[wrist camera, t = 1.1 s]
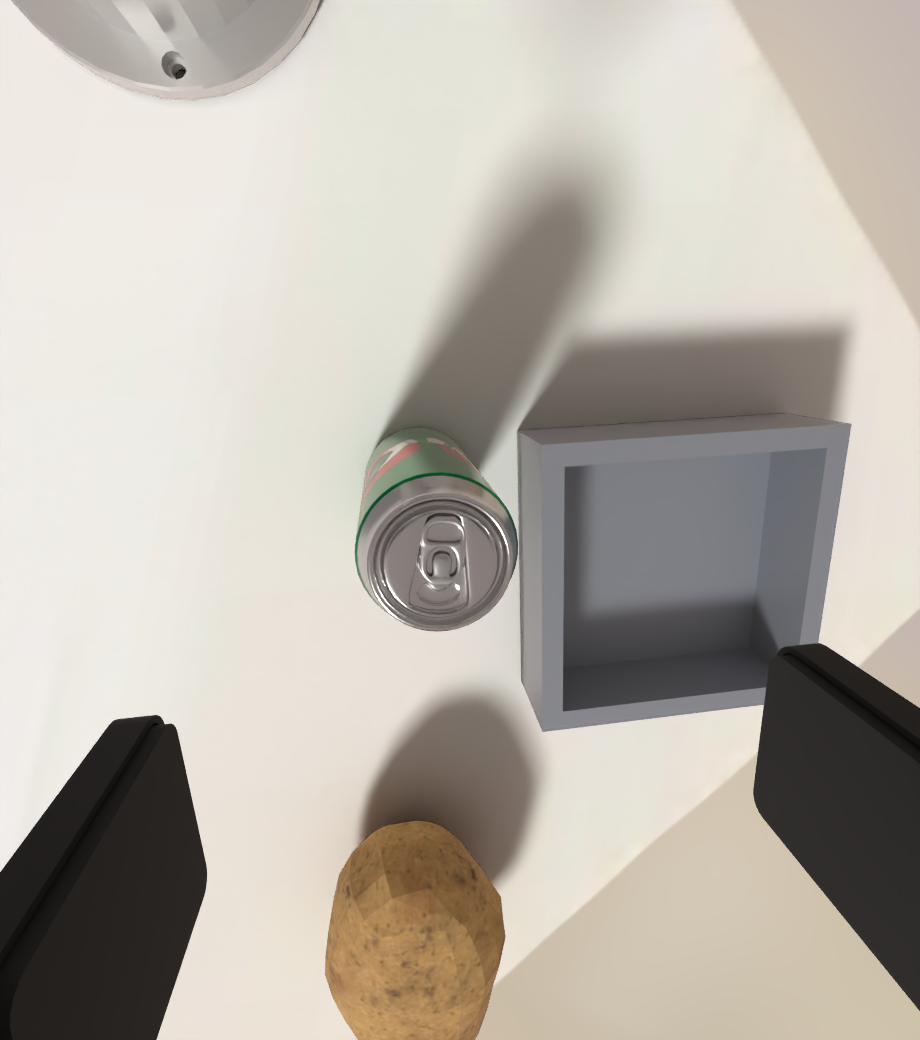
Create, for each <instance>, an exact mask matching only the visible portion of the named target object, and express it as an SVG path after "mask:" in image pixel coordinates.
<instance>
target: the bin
mask: <svg viewBox="0 0 920 1040" xmlns="http://www.w3.org/2000/svg"><path fill="white" fill-rule="evenodd" d="M850 429H851V424H849V423H843V422H836V421H830V420H824V419H817V418H811V417H805V416H798V415H792V414H786V413H778V414H762V415H747V416H731V417H716V418H701V419H685V420H670V421H654V422H639V423H623V424H608V425H592V426H577V427H561V428H546V429H530V430H517V449H518V509H519V568H520V628H521V681H522V684H523V686H524V688H525V691H526V693H527V696H528V698H529V700H530V703H531V705H532V708H533V710H534V712H535V715H536V717H537V720H538V722H539V724H540V727H541V729H542V732H545V731H553V730H562V729H570V728H578V727H586V726H594V725H602V724H610V723H618V722H626V721H634V720H643V719H651V718H659V717H667V716H675V715H683V714H691V713H699V712H707V711H715V710H724V709H732V708H740V707H748V706H756V705H764V701H765V693H766V685H767V677H768V669H769V664H770V661H771V660H772V658H774V657H777V653H778V652H779V650H780V649H781V648H783V647H785V646H794V645H804V644H813V643H818V640H819V633H820V627H821V620H822V614H823V607H824V601H825V594H826V587H827V581H828V574H829V568H830V561H831V554H832V548H833V541H834V535H835V528H836V521H837V515H838V508H839V502H840V495H841V489H842V482H843V475H844V469H845V462H846V456H847V449H848V442H849V436H850Z"/></svg>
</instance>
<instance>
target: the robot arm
mask: <svg viewBox="0 0 920 1040" xmlns="http://www.w3.org/2000/svg"><path fill="white" fill-rule="evenodd" d="M11 1H12V2H13V3H14V4H15V5H16V6H17V7H18V8H19V10H20V11H21V12H22V13H23V14H24V15H25V16H26V17H27V18H28V20H29V21H30V22H31V23H32V24H33V25H34V26H35V27H36V28H37V29H38V30H39V31H40V32H41V33H42V34H43V35H45V36H46V37H47V38H48V39H49V40H50V41H51V42H52V43H53V44H55V45H56V46H57V47H58V48H59V49H60V50H61V51H62V52H63V53H65V54H66V55H68V56H69V57H71V58H72V59H74V60H75V61H76V62H78V63H79V64H81V65H82V66H84V67H85V68H87V69H88V70H90V71H91V72H92V73H94V74H95V75H97V76H100V77H102V78H104V79H106V80H108V81H110V82H112V83H115V84H117V85H119V86H121V87H123V88H125V89H127V90H130V91H134V92H138V93H142V94H146V95H150V96H154V97H157V98H161V99H179V100H199V99H205V98H211V97H217V96H223V95H226V94H229V93H231V92H234V91H236V90H238V89H241V88H243V87H246V86H248V85H251V84H253V83H254V82H256V81H257V80H259V79H260V78H261V77H263V76H264V75H266V74H267V73H268V72H270V71H271V70H273V69H274V68H275V67H277V66H278V65H279V64H280V63H281V62H282V61H283V59H284V58H285V57H286V56H287V55H288V54H289V53H290V51H291V50H292V49H293V48H294V47H295V46H296V45H297V44H298V42H299V41H300V39H301V38H302V36H303V34H304V32H305V31H306V29H307V27H308V25H309V24H310V22H311V20H312V18H313V17H314V15H315V13H316V10H317V7H318V4H319V1H320V0H11ZM180 69H183V70H186V73H185V75H184V76H183V78H180V79H176V73H177V71H178V70H180ZM753 791H754V792H753V794H754V801H755V803H756V807H757V809H758V811H759V813H760V814H761V816H762V817H763V819H764V820H765V821H766V822H767V823H768V825H769V826H770V827H771V828H772V830H773V831H774V832H775V833H776V835H777V836H778V837H779V838H780V839H781V841H782V842H783V843H784V844H785V846H786V847H787V848H788V849H789V851H790V852H791V853H792V854H793V856H794V857H795V858H796V859H797V860H798V862H799V863H800V864H801V865H802V867H803V868H804V869H805V870H806V872H807V873H808V874H809V875H810V876H811V878H812V879H813V880H814V881H815V883H816V884H817V885H818V886H819V888H821V890H822V891H823V892H824V894H825V895H826V896H827V897H828V898H829V900H830V901H831V902H832V903H833V905H834V906H835V907H836V908H837V910H838V911H839V912H840V913H841V915H842V916H843V917H844V918H845V919H846V921H847V922H848V923H849V924H850V926H851V927H852V928H853V929H854V930H855V932H856V933H857V934H858V935H859V936H860V938H861V939H862V940H863V942H864V943H865V944H866V945H867V946H868V948H869V949H870V950H871V951H872V953H873V954H874V955H875V956H876V958H877V959H878V960H879V961H880V963H881V964H882V965H883V966H884V967H885V969H886V970H887V971H888V972H889V974H890V975H891V976H892V977H893V979H894V980H895V981H896V982H897V983H898V985H899V986H900V987H901V988H902V990H903V991H904V992H905V993H906V995H907V996H908V997H909V998H910V999H911V1001H912V1002H913V1003H914V1004H915V1006H916V1007H917V1008H918V1009H919V1011H920V708H919V707H917V706H916V705H914V704H913V703H911V702H909V701H908V700H907V699H905V698H904V697H902V696H900V695H899V694H898V693H896V692H895V691H893V690H891V689H890V688H888V687H887V686H885V685H884V684H882V683H881V682H879V681H878V680H876V679H875V678H873V677H872V676H870V675H869V674H868V673H866V672H864V671H863V670H861V669H860V668H858V667H857V666H855V665H854V664H852V663H851V662H849V661H848V660H846V659H845V658H843V657H842V656H840V655H839V654H837V653H836V652H834V651H833V650H831V649H830V648H828V647H827V646H825V645H823V644H821V643H813V644H804V645H794V646H785V647H783V648H781V649H780V650H779V652H778V653H777V657H774V658H772V660H771V661H770V664H769V669H768V677H767V685H766V693H765V701H764V709H763V717H762V725H761V733H760V741H759V749H758V757H757V766H756V773H755V781H754V790H753ZM206 883H207V868H206V862H205V857H204V853H203V848H202V843H201V839H200V834H199V830H198V825H197V820H196V816H195V811H194V807H193V802H192V797H191V793H190V788H189V784H188V779H187V774H186V770H185V765H184V761H183V756H182V751H181V747H180V742H179V738H178V733H177V730H176V727H175V726H174V725H173V724H164V722H163V720H162V718H161V717H160V716H158V715H152V716H143V717H134V718H125V719H117V720H114V721H113V722H112V723H111V724H110V725H109V726H108V727H107V729H106V730H105V731H104V733H103V734H102V736H101V737H100V738H99V740H98V741H97V742H96V744H95V745H94V746H93V748H92V749H91V750H90V752H89V753H88V754H87V756H86V757H85V759H84V760H83V761H82V763H81V764H80V765H79V767H78V768H77V769H76V771H75V772H74V773H73V775H72V776H71V777H70V779H69V780H68V781H67V783H66V784H65V786H64V787H63V788H62V790H61V791H60V792H59V794H58V795H57V796H56V798H55V799H54V800H53V802H52V803H51V804H50V806H49V807H48V809H47V810H46V811H45V813H44V814H43V815H42V817H41V818H40V819H39V821H38V822H37V823H36V825H35V826H34V827H33V829H32V830H31V832H30V833H29V834H28V836H27V837H26V838H25V840H24V841H23V842H22V844H21V845H20V846H19V848H18V849H17V850H16V852H15V853H14V855H13V856H12V857H11V859H10V860H9V861H8V863H7V864H6V865H5V867H4V868H3V869H2V871H1V872H0V1040H156V1039H157V1036H158V1033H159V1030H160V1027H161V1024H162V1021H163V1018H164V1015H165V1012H166V1009H167V1006H168V1003H169V1000H170V997H171V994H172V991H173V988H174V985H175V982H176V979H177V976H178V973H179V970H180V967H181V964H182V961H183V958H184V955H185V952H186V949H187V946H188V943H189V940H190V937H191V934H192V931H193V928H194V925H195V922H196V919H197V916H198V913H199V910H200V907H201V904H202V901H203V898H204V894H205V890H206Z"/></svg>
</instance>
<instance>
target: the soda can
mask: <svg viewBox="0 0 920 1040" xmlns="http://www.w3.org/2000/svg"><path fill="white" fill-rule="evenodd" d="M517 555H518V540H517V533H516V528H515V525H514V522H513V519H512V517H511V515H510V513H509V511H508V509H507V508H506V506H505V505H504V504H503V502H502V501H501V500H500V498H499V497H498V496H497V494H496V493H495V492H494V491H493V489H492V488H491V487H490V485H489V484H488V483H487V482H486V480H485V479H484V478H483V477H482V475H481V474H480V473H479V471H478V470H477V469H476V468H475V466H474V465H473V464H472V462H471V461H470V460H469V459H468V457H467V456H466V455H465V454H464V452H463V451H462V450H461V448H460V447H459V446H458V445H457V444H456V443H455V442H454V441H453V440H452V439H451V438H449V437H448V436H446V435H445V434H443V433H441V432H439V431H436V430H433V429H429V428H408V429H404V430H401V431H398V432H395V433H394V434H392V435H390V436H388V437H387V438H386V439H384V440H383V441H382V442H381V443H380V444H379V445H378V446H377V447H376V449H375V450H374V452H373V453H372V455H371V457H370V459H369V461H368V464H367V468H366V473H365V480H364V487H363V494H362V500H361V507H360V514H359V521H358V528H357V535H356V543H355V562H356V567H357V571H358V575H359V577H360V580H361V582H362V584H363V586H364V588H365V590H366V591H367V593H368V594H369V596H370V597H371V598H372V599H373V600H374V601H375V603H376V604H377V605H378V606H380V607H381V608H382V609H383V610H384V611H386V612H387V613H389V614H390V615H391V616H393V617H394V618H395V619H397V620H399V621H400V622H402V623H404V624H406V625H408V626H411V627H414V628H417V629H421V630H426V631H448V630H453V629H458V628H461V627H464V626H467V625H469V624H471V623H473V622H475V621H477V620H479V619H480V618H481V617H483V616H484V615H486V614H487V613H488V612H489V611H490V610H491V609H492V608H493V607H494V606H495V605H496V604H497V603H498V601H499V600H500V599H501V597H502V596H503V594H504V592H505V590H506V589H507V587H508V584H509V581H510V579H511V577H512V574H513V572H514V569H515V566H516V560H517Z"/></svg>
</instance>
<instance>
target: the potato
mask: <svg viewBox="0 0 920 1040" xmlns="http://www.w3.org/2000/svg"><path fill="white" fill-rule="evenodd" d="M504 941H505V930H504V923H503V915H502V905H501V896H500V895H499V894H498V892H497V891H496V889H495V888H494V886H493V885H492V883H491V882H490V880H489V879H488V877H487V876H486V875H485V873H484V872H483V870H482V869H481V867H480V866H479V865H478V864H477V862H476V861H475V860H474V859H473V857H472V856H471V855H470V854H469V852H468V851H467V849H466V848H465V847H464V845H463V844H462V843H461V841H460V840H459V839H458V838H456V837H455V836H454V835H453V834H451V833H450V832H449V831H447V830H446V829H445V828H444V827H441V826H439V825H437V824H434V823H432V822H426V821H410V822H404V823H398V824H392V825H386V826H383V827H382V828H380V829H378V830H376V831H374V832H373V833H371V834H370V835H369V836H368V837H367V838H366V839H365V840H364V841H363V842H362V843H361V844H360V845H359V846H358V847H357V848H356V849H355V850H354V851H353V852H352V854H351V856H350V857H349V859H348V861H347V862H346V864H345V866H344V868H343V869H342V871H341V873H340V874H339V878H338V882H337V887H336V891H335V895H334V901H333V907H332V913H331V920H330V926H329V932H328V940H327V949H326V963H325V976H326V979H327V982H328V985H329V988H330V991H331V993H332V996H333V999H334V1001H335V1003H336V1004H337V1006H338V1008H339V1010H340V1012H341V1014H342V1016H343V1018H344V1019H345V1021H346V1022H347V1024H348V1025H349V1027H350V1028H351V1030H352V1031H353V1033H354V1035H355V1036H356V1038H357V1039H358V1040H475V1039H476V1037H477V1035H478V1033H479V1030H480V1028H481V1025H482V1022H483V1019H484V1016H485V1014H486V1011H487V1008H488V1003H489V1000H490V995H491V991H492V987H493V983H494V980H495V977H496V974H497V971H498V968H499V964H500V960H501V955H502V950H503V945H504Z"/></svg>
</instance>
